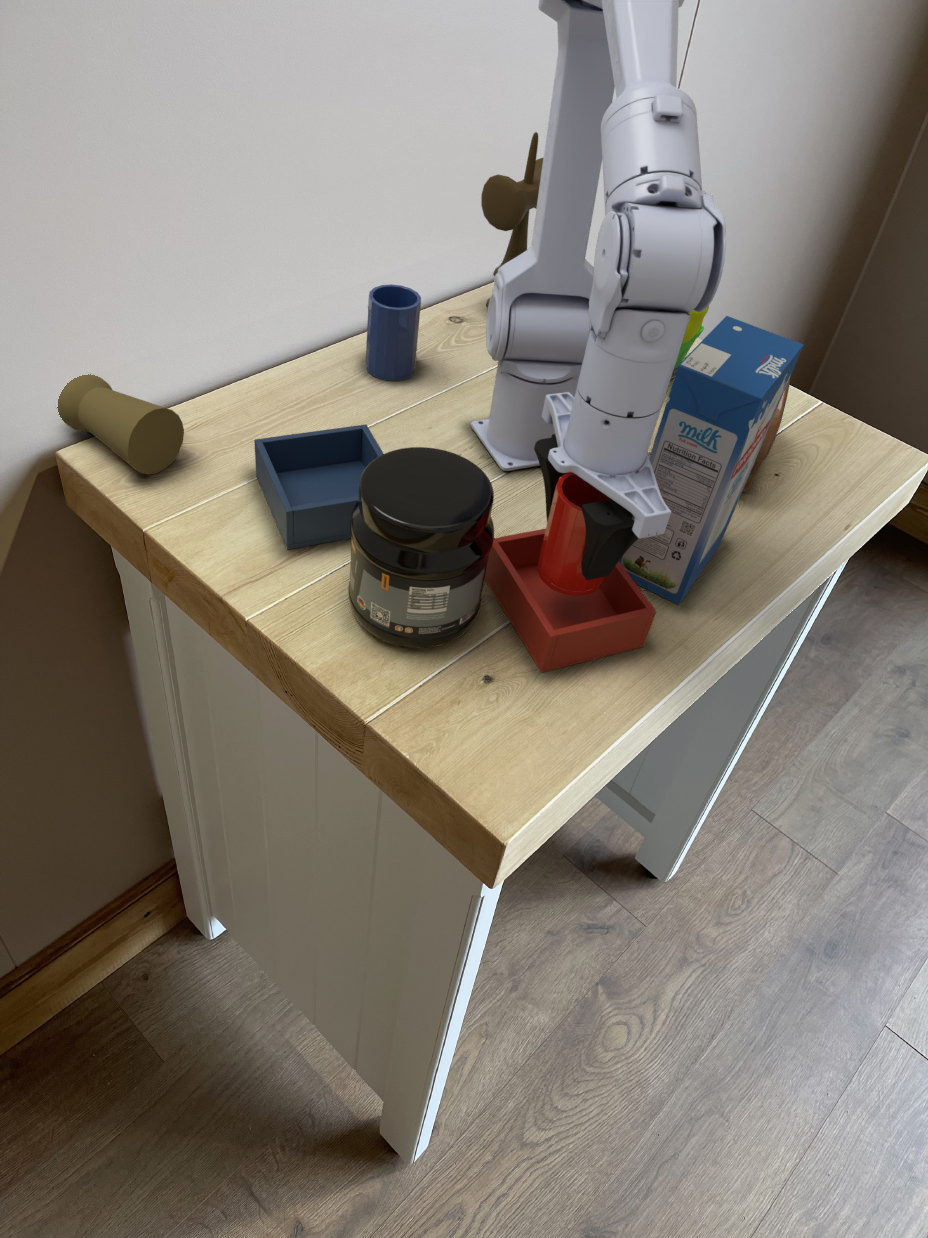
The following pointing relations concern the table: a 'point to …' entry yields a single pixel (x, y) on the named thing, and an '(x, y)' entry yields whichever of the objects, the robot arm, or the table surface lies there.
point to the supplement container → (420, 546)
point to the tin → (768, 439)
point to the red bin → (565, 607)
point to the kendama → (513, 203)
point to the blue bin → (314, 481)
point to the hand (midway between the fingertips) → (577, 549)
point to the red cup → (568, 538)
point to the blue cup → (392, 332)
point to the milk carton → (709, 448)
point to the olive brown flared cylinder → (123, 423)
